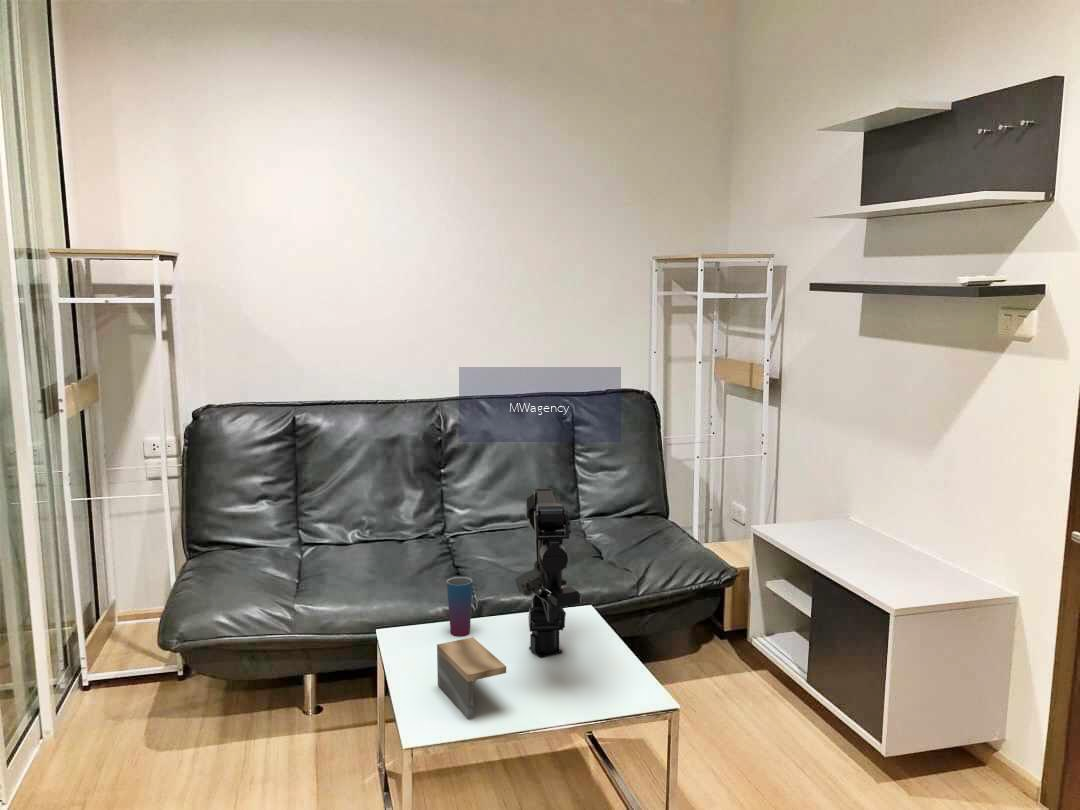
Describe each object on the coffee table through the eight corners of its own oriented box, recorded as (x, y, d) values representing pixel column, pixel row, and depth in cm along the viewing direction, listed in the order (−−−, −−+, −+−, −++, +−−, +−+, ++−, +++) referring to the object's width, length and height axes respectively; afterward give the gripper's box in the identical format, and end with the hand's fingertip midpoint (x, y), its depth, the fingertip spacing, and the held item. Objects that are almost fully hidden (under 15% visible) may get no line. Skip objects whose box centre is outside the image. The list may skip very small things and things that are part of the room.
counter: (473, 677, 202) (473, 637, 200) (506, 710, 186) (506, 666, 185) (437, 685, 197) (437, 644, 196) (468, 719, 182) (467, 674, 180)
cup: (469, 641, 223) (468, 586, 221) (444, 639, 224) (443, 584, 222) (476, 631, 229) (475, 577, 227) (451, 629, 231) (451, 575, 229)
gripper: (502, 552, 204) (502, 615, 206) (538, 575, 188) (538, 642, 190) (543, 546, 209) (543, 607, 211) (582, 567, 193) (581, 633, 195)
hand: (550, 622), depth 202 cm, fingers closed
